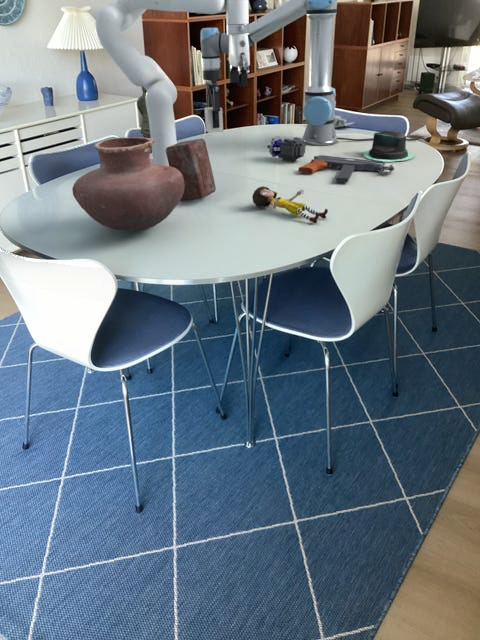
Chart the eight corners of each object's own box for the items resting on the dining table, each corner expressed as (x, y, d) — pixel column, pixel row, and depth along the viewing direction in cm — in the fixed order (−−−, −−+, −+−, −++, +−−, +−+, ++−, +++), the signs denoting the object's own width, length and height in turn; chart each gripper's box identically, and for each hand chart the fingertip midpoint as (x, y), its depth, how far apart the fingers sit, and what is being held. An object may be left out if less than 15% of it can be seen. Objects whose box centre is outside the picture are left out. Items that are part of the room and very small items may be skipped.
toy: (275, 134, 227) (308, 138, 220) (275, 155, 231) (307, 159, 224) (264, 138, 221) (297, 142, 214) (264, 160, 225) (297, 164, 218)
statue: (170, 147, 247) (164, 74, 232) (162, 152, 239) (156, 77, 224) (146, 146, 250) (139, 74, 234) (138, 151, 242) (130, 77, 226)
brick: (223, 131, 245) (222, 108, 240) (209, 133, 243) (207, 109, 238) (219, 129, 249) (218, 106, 244) (205, 131, 248) (204, 107, 243)
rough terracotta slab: (94, 159, 190) (189, 144, 170) (112, 152, 198) (205, 137, 178) (110, 208, 198) (203, 199, 177) (127, 200, 205) (218, 190, 185)
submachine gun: (291, 170, 202) (317, 154, 221) (291, 177, 204) (317, 161, 222) (376, 180, 189) (396, 162, 207) (375, 188, 190) (395, 170, 209)
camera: (330, 99, 279) (356, 102, 271) (329, 123, 285) (354, 127, 277) (320, 101, 274) (346, 105, 265) (319, 126, 280) (344, 130, 271)
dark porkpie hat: (354, 155, 225) (369, 146, 240) (391, 182, 222) (404, 171, 237) (375, 123, 215) (389, 115, 230) (414, 151, 213) (426, 141, 228)
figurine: (311, 212, 157) (243, 186, 169) (307, 236, 161) (241, 209, 173) (335, 200, 165) (269, 176, 178) (331, 223, 170) (266, 198, 182)
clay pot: (119, 206, 179) (108, 126, 166) (203, 217, 169) (199, 132, 156) (58, 240, 155) (40, 149, 142) (152, 255, 144) (142, 159, 132)
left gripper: (256, 30, 182) (256, 87, 190) (240, 28, 196) (241, 80, 205) (234, 31, 180) (235, 88, 188) (220, 29, 194) (221, 82, 203)
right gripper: (226, 70, 227) (228, 129, 238) (213, 66, 242) (216, 122, 254) (208, 72, 225) (212, 131, 237) (197, 67, 240) (200, 123, 252)
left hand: (238, 84), depth 196 cm, fingers open, 9 cm apart
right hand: (214, 126), depth 245 cm, fingers closed on brick, 5 cm apart
